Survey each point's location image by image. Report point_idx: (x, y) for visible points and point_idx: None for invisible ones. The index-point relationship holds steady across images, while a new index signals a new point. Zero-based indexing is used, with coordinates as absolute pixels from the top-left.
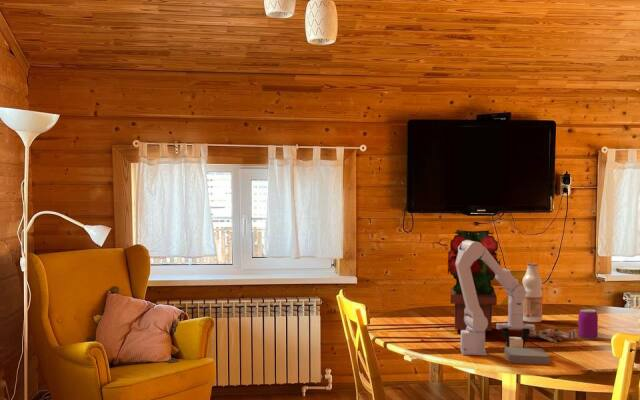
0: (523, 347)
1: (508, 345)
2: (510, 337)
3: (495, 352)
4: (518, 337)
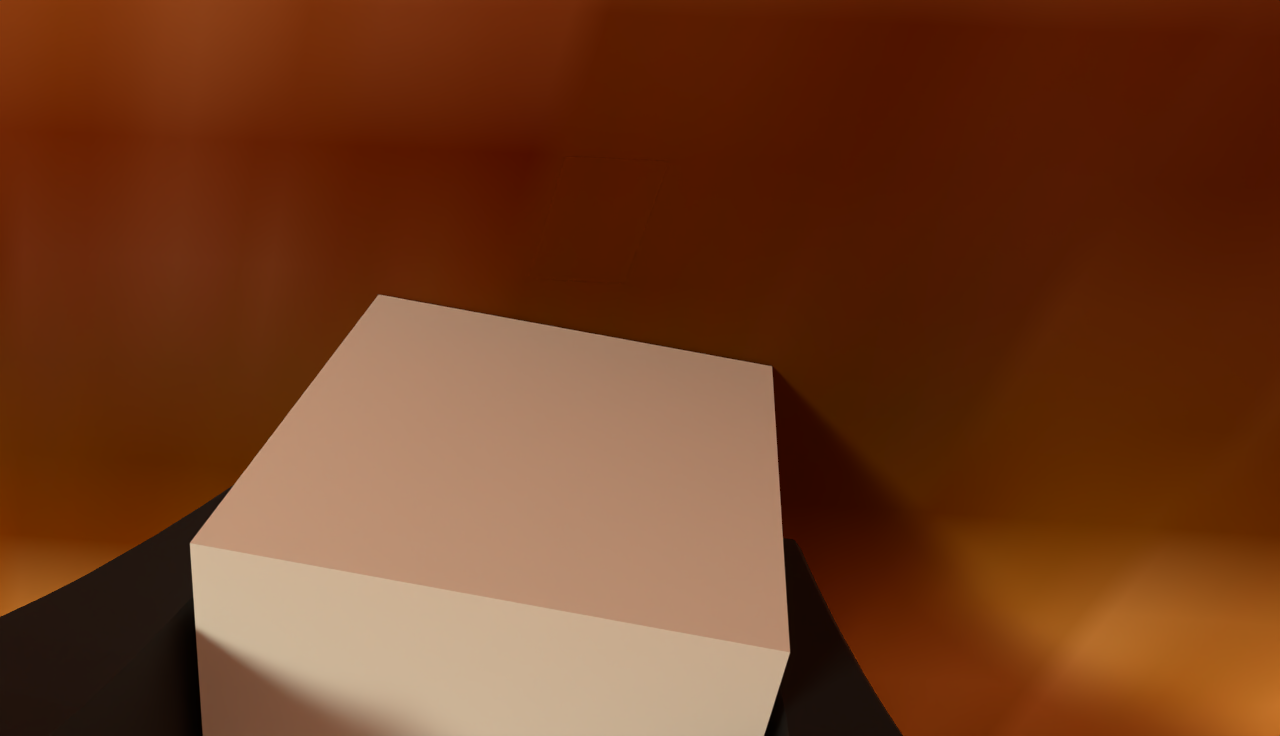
0: None
1: None
2: (293, 646)
3: (3, 562)
4: (662, 679)
